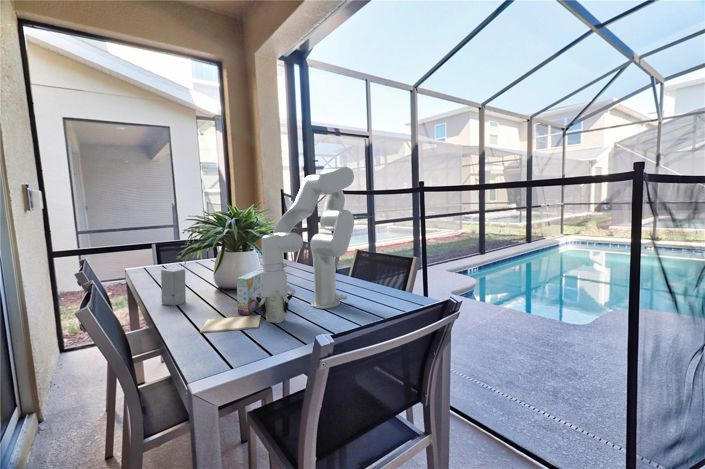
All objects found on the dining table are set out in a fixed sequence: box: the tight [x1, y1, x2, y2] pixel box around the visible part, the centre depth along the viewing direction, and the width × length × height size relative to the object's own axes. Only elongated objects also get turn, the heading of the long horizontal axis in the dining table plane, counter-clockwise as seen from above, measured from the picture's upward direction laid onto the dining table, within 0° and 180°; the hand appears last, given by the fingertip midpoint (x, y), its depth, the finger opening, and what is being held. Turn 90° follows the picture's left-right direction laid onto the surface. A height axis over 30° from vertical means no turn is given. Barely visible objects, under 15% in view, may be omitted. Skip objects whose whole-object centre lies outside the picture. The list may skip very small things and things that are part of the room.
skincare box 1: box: [160, 267, 187, 306], centre depth 156 cm, size 8×7×16 cm
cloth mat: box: [199, 314, 262, 334], centre depth 129 cm, size 20×12×1 cm, turn 101°
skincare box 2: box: [265, 291, 286, 324], centre depth 131 cm, size 6×4×12 cm
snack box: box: [236, 267, 263, 315], centre depth 149 cm, size 21×6×15 cm, turn 168°
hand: (275, 312), depth 132 cm, fingers closed on skincare box 2, 7 cm apart
